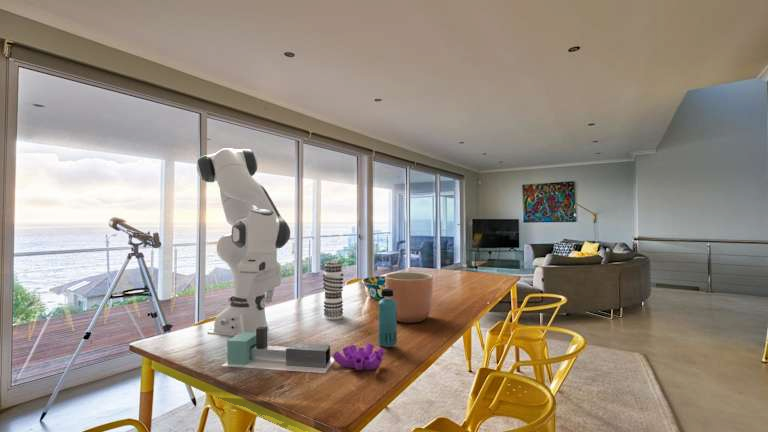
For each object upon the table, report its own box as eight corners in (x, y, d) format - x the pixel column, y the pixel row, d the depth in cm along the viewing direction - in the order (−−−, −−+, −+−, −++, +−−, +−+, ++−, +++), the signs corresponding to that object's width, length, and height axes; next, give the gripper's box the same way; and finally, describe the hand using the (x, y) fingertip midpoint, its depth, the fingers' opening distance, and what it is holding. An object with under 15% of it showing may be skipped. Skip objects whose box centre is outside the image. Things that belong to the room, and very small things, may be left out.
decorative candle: (333, 312, 168) (332, 259, 168) (348, 316, 162) (347, 260, 162) (318, 317, 160) (318, 261, 160) (333, 320, 155) (333, 263, 155)
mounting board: (221, 369, 106) (221, 365, 106) (242, 354, 117) (242, 351, 117) (324, 376, 101) (324, 372, 101) (336, 360, 112) (336, 357, 112)
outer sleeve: (286, 365, 106) (286, 348, 106) (293, 358, 111) (293, 342, 111) (325, 368, 104) (324, 350, 104) (330, 361, 109) (330, 344, 109)
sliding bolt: (240, 357, 110) (240, 328, 110) (245, 354, 113) (245, 325, 113) (302, 361, 106) (302, 331, 106) (306, 357, 109) (306, 328, 109)
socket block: (227, 363, 108) (227, 340, 108) (242, 353, 115) (242, 332, 115) (245, 365, 107) (245, 341, 107) (259, 354, 114) (259, 332, 114)
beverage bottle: (383, 352, 118) (383, 292, 118) (374, 346, 124) (374, 288, 124) (400, 349, 121) (400, 290, 121) (391, 343, 127) (390, 286, 127)
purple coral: (349, 371, 112) (362, 341, 116) (384, 386, 102) (397, 353, 106) (326, 357, 105) (341, 327, 110) (361, 372, 95) (376, 338, 100)
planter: (440, 317, 160) (440, 274, 160) (419, 329, 142) (419, 281, 142) (400, 310, 171) (400, 270, 171) (376, 321, 153) (375, 277, 153)
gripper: (268, 257, 121) (267, 298, 121) (233, 266, 101) (232, 315, 101) (285, 257, 120) (285, 299, 120) (254, 267, 100) (253, 316, 100)
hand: (261, 306), depth 110 cm, fingers open, 8 cm apart
